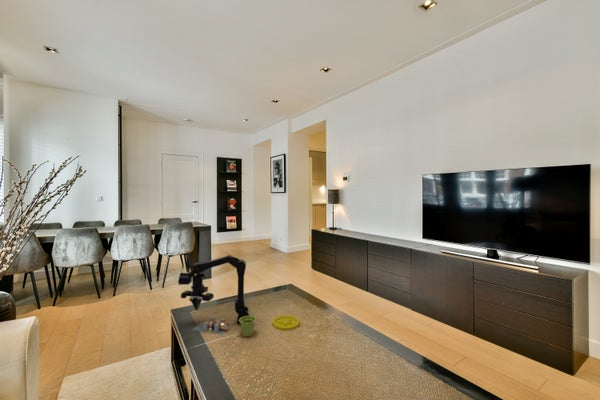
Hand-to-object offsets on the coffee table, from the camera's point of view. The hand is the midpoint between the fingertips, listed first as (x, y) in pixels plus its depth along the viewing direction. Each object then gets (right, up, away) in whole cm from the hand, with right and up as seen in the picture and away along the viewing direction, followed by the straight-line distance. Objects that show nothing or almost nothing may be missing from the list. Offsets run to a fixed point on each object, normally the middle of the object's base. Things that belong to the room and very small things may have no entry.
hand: (196, 309), depth 159 cm
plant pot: (+31, -12, -6) cm, 34 cm away
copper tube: (+14, -10, -3) cm, 17 cm away
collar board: (+10, -11, -2) cm, 15 cm away
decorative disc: (+53, -13, +8) cm, 55 cm away
